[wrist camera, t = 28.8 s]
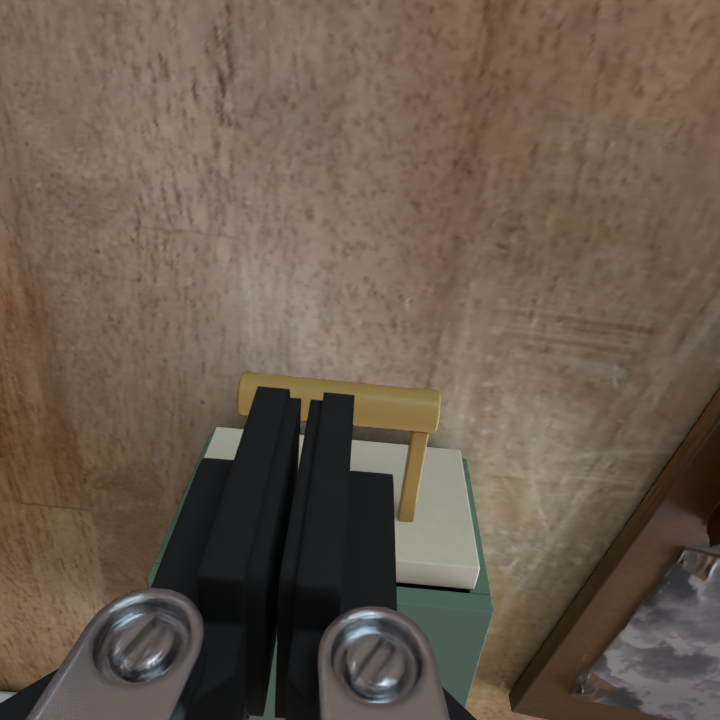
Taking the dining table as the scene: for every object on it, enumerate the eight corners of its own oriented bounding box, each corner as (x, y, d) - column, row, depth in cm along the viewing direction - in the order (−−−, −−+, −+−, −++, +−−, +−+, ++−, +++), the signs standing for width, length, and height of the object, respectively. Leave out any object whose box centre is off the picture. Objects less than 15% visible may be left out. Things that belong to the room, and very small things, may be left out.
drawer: (212, 311, 25) (155, 405, 19) (484, 337, 25) (514, 439, 19) (223, 617, 35) (187, 744, 29) (420, 635, 35) (427, 766, 29)
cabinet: (209, 434, 29) (146, 579, 22) (466, 458, 30) (494, 612, 22) (217, 628, 37) (172, 789, 29) (424, 647, 37) (434, 813, 29)
